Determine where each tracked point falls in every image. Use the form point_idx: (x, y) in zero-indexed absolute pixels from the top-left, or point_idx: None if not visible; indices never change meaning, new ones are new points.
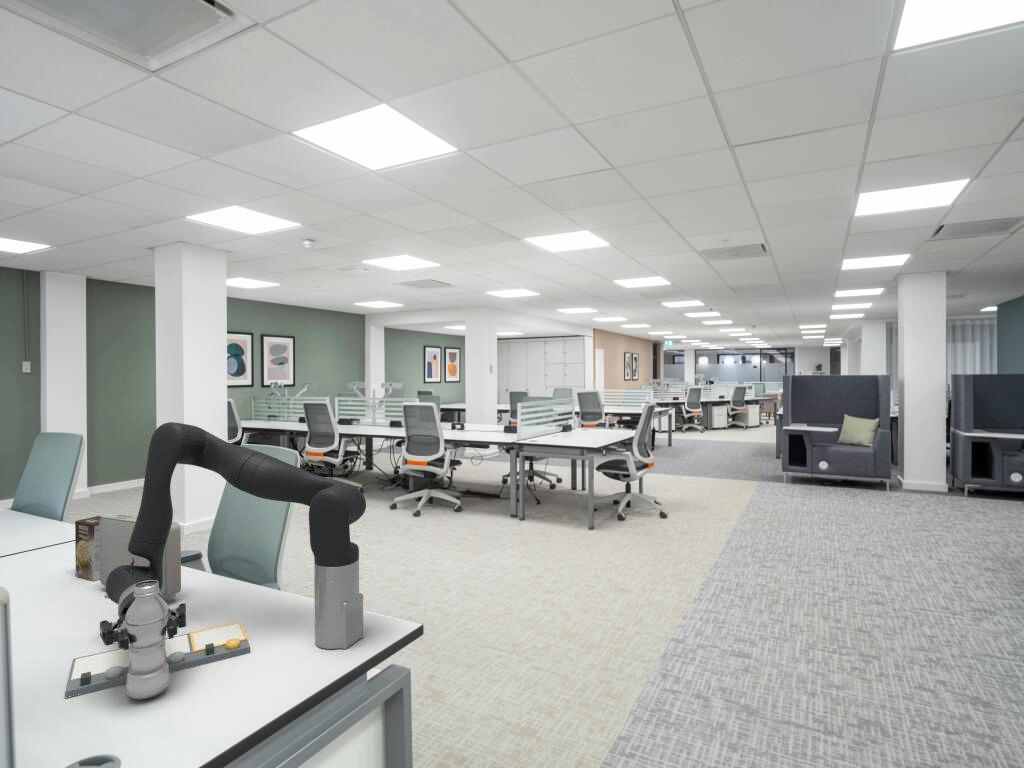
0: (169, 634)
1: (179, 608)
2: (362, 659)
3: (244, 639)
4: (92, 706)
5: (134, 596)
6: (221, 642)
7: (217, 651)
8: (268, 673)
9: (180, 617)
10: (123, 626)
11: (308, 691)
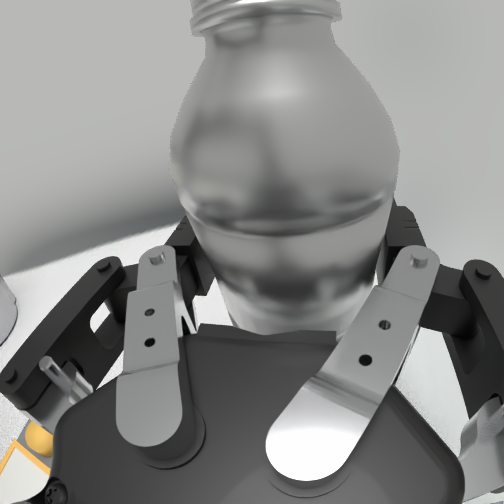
0: None
1: (54, 337)
2: (37, 268)
3: (17, 442)
4: (434, 429)
5: (336, 17)
6: (44, 485)
7: None
8: (97, 315)
9: (124, 267)
10: (414, 279)
11: (119, 245)
